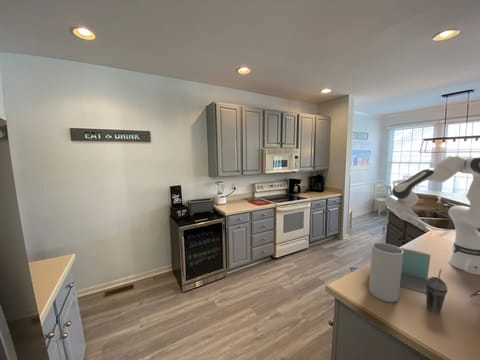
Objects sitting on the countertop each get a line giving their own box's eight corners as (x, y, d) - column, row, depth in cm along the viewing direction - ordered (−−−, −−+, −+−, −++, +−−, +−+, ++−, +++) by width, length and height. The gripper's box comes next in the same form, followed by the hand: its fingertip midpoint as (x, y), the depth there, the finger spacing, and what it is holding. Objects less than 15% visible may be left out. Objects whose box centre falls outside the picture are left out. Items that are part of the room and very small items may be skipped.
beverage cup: (418, 304, 95) (422, 265, 92) (432, 303, 95) (437, 264, 93) (434, 316, 87) (439, 274, 85) (449, 315, 88) (455, 273, 86)
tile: (426, 277, 116) (429, 253, 114) (427, 279, 114) (430, 255, 113) (394, 269, 124) (396, 247, 123) (394, 271, 123) (397, 248, 121)
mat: (431, 281, 113) (431, 280, 113) (439, 297, 99) (440, 296, 99) (392, 271, 122) (392, 270, 122) (394, 284, 109) (394, 284, 109)
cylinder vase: (363, 286, 108) (366, 242, 105) (386, 286, 108) (390, 242, 105) (378, 302, 96) (383, 253, 93) (404, 303, 95) (410, 254, 92)
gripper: (399, 203, 128) (416, 217, 116) (418, 215, 134) (436, 230, 122) (391, 210, 130) (407, 225, 118) (410, 221, 136) (427, 236, 124)
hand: (422, 227), depth 120 cm, fingers open, 8 cm apart
